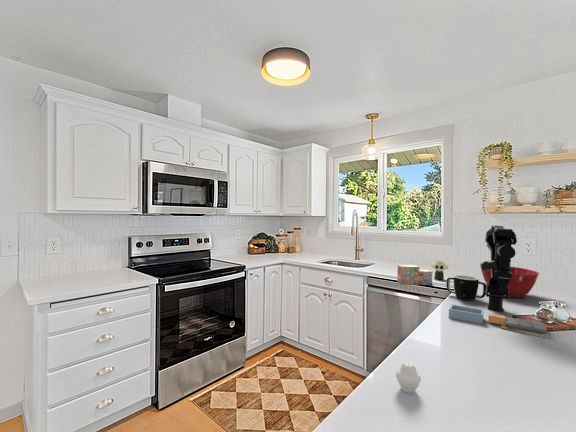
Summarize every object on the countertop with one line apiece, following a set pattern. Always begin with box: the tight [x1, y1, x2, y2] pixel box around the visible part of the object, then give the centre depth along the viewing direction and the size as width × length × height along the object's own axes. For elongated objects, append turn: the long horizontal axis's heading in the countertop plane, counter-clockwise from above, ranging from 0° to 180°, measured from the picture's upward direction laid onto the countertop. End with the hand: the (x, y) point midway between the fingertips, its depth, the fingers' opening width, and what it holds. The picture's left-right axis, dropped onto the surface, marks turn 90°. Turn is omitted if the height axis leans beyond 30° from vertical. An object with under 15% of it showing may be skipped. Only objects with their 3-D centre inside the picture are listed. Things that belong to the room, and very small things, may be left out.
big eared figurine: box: [430, 260, 449, 280], centre depth 218 cm, size 11×7×13 cm, turn 59°
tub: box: [448, 304, 485, 325], centre depth 135 cm, size 9×13×4 cm
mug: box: [446, 274, 487, 301], centre depth 168 cm, size 16×16×12 cm
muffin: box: [395, 362, 422, 394], centre depth 79 cm, size 6×6×7 cm
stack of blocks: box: [396, 264, 433, 286], centre depth 202 cm, size 21×6×12 cm, turn 91°
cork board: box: [500, 323, 550, 339], centre depth 124 cm, size 11×15×1 cm
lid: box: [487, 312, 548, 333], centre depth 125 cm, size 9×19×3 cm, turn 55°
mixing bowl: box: [480, 265, 540, 299], centre depth 179 cm, size 28×28×15 cm
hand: (501, 290), depth 135 cm, fingers open, 9 cm apart
